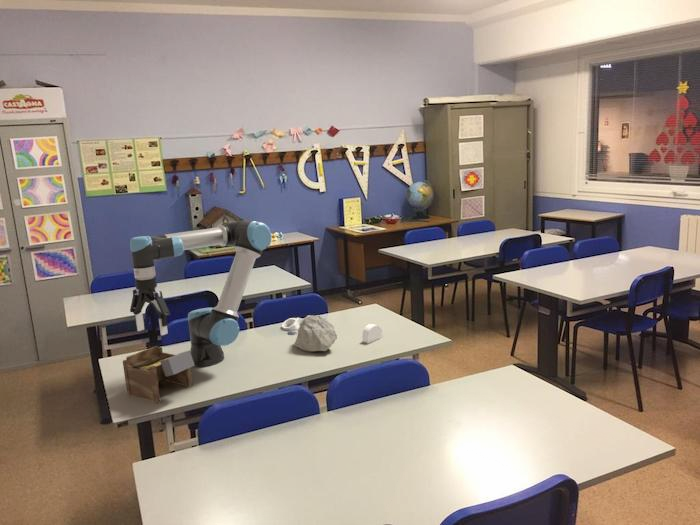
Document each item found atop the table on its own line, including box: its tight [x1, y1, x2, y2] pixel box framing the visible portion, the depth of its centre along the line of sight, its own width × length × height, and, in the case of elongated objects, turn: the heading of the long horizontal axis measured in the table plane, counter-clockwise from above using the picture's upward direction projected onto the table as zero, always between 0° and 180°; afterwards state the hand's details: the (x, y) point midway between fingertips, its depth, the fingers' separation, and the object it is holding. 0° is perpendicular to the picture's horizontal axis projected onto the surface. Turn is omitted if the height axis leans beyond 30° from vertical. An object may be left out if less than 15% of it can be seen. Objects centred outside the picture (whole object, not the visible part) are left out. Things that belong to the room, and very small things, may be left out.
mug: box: [281, 317, 304, 331], centre depth 289 cm, size 12×9×10 cm
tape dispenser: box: [361, 323, 383, 344], centre depth 263 cm, size 10×18×11 cm, turn 45°
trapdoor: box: [142, 349, 196, 377], centre depth 217 cm, size 13×21×6 cm, turn 57°
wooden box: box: [122, 345, 193, 404], centre depth 221 cm, size 17×17×15 cm
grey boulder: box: [293, 314, 338, 352], centre depth 256 cm, size 22×13×15 cm, turn 53°
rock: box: [286, 330, 298, 336], centre depth 281 cm, size 10×6×10 cm
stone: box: [133, 356, 167, 367], centre depth 218 cm, size 13×5×2 cm, turn 134°
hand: (152, 332), depth 218 cm, fingers open, 13 cm apart
